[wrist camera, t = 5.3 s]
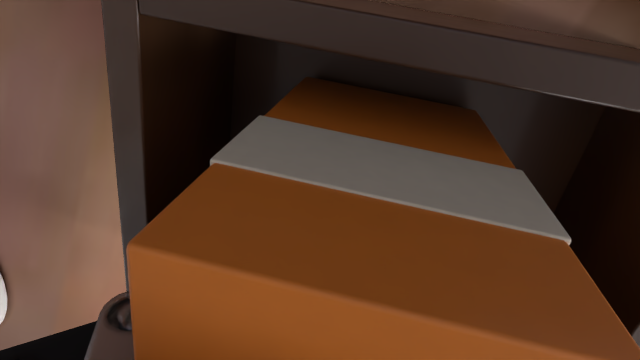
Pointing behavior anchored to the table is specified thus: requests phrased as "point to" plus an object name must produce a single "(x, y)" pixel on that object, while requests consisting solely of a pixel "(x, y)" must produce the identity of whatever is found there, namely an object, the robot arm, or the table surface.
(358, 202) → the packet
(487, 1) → the table surface
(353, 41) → the chest
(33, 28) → the table surface
